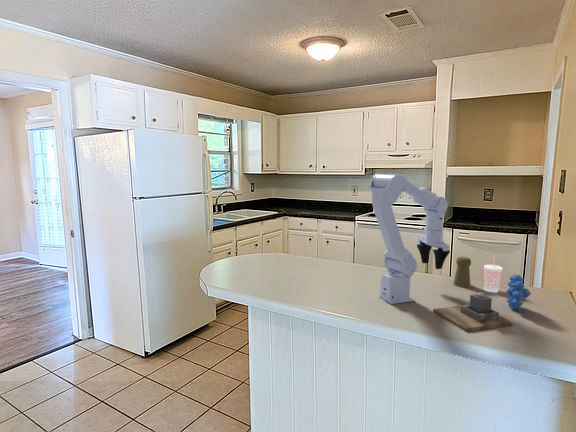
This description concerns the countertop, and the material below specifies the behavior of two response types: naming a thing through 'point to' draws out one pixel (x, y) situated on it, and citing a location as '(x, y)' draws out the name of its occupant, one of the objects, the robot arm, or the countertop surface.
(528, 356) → the countertop surface
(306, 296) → the countertop surface
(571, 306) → the countertop surface
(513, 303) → the grapes
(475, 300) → the plug
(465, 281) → the cork
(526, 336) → the countertop surface
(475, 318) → the charging dock
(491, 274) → the beverage cup
